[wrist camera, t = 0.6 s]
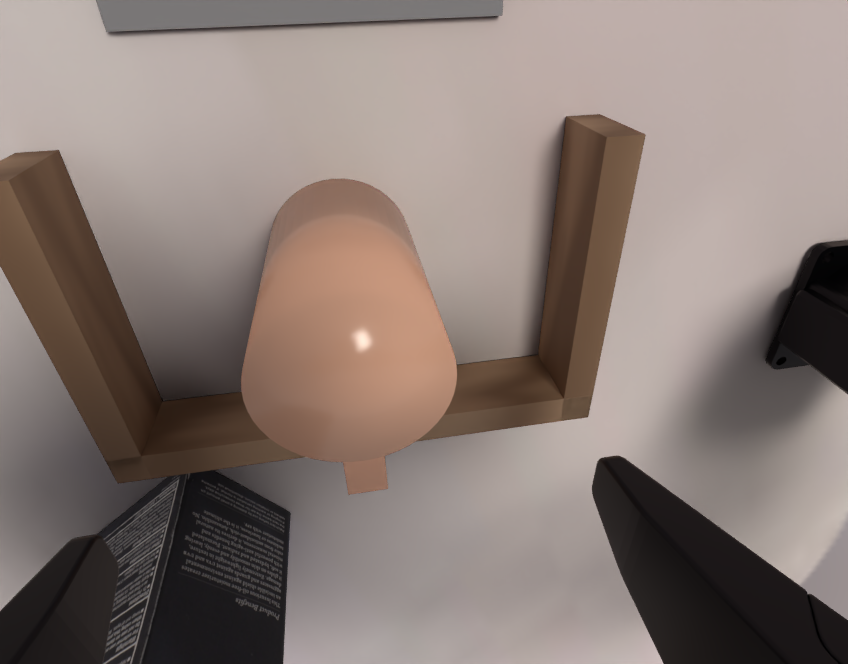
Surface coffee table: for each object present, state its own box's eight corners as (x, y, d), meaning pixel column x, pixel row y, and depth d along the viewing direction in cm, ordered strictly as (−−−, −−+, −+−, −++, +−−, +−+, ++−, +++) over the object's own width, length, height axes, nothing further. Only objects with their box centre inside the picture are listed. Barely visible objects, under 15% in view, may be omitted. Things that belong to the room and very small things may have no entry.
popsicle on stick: (407, 173, 18) (458, 282, 11) (415, 349, 22) (455, 505, 15) (257, 185, 17) (215, 307, 10) (294, 364, 21) (282, 533, 15)
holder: (599, 114, 17) (645, 134, 15) (560, 372, 24) (587, 417, 21) (15, 153, 15) (-44, 184, 13) (141, 427, 22) (117, 483, 19)
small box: (166, 609, 29) (99, 874, 20) (49, 569, 25) (-90, 865, 17) (299, 513, 26) (288, 770, 18) (190, 454, 23) (110, 734, 14)
